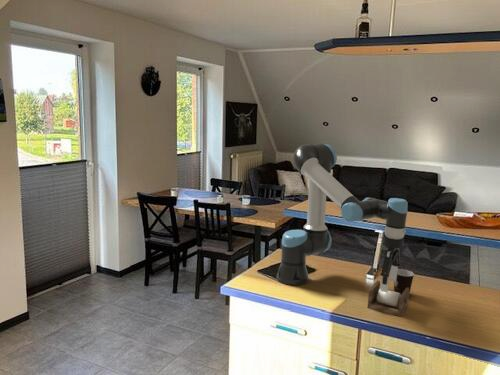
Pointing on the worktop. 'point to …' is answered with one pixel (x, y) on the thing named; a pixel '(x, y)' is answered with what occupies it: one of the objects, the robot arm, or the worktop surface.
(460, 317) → the worktop surface
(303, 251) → the robot arm
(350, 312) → the worktop surface
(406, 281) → the coffee mug
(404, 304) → the holder
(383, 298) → the roll
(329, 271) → the worktop surface
